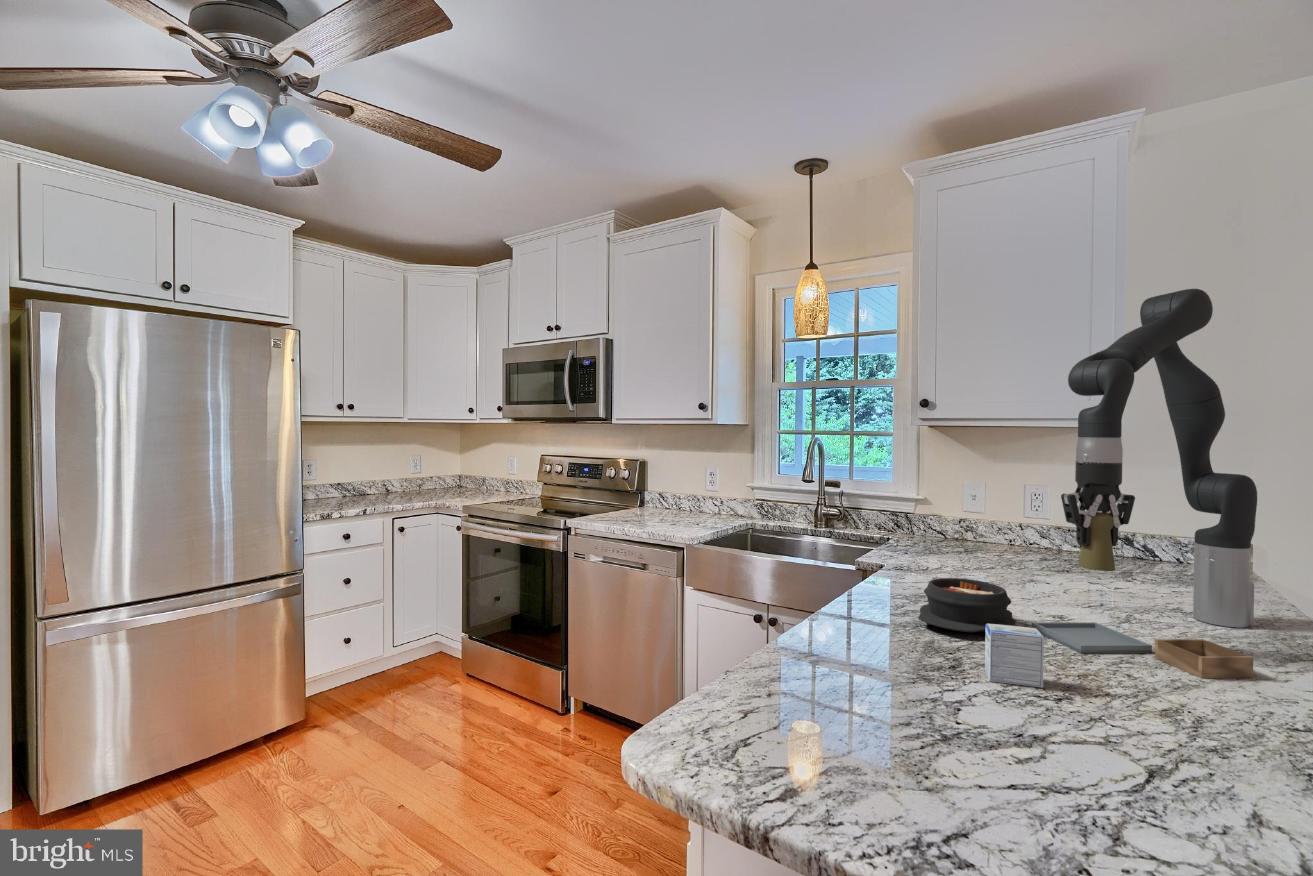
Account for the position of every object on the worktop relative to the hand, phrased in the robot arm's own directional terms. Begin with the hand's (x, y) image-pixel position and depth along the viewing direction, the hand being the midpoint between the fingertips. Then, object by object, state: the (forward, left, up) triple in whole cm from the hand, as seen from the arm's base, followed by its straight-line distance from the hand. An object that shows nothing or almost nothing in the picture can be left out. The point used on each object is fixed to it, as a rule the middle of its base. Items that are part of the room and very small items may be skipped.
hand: (1096, 545), depth 120 cm
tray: (0, -1, -19) cm, 20 cm away
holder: (-10, +13, -19) cm, 25 cm away
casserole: (+19, -12, -20) cm, 30 cm away
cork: (0, 0, -5) cm, 5 cm away
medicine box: (+28, +18, -20) cm, 39 cm away
